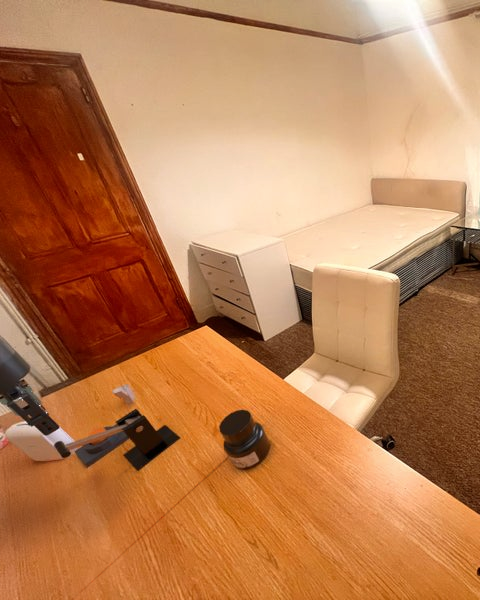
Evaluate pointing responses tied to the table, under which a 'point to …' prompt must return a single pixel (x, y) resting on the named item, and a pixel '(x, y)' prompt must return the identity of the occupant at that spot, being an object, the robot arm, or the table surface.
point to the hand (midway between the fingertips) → (45, 422)
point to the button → (97, 433)
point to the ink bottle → (244, 439)
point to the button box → (100, 447)
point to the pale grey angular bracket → (125, 393)
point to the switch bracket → (145, 439)
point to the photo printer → (37, 441)
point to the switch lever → (90, 439)
